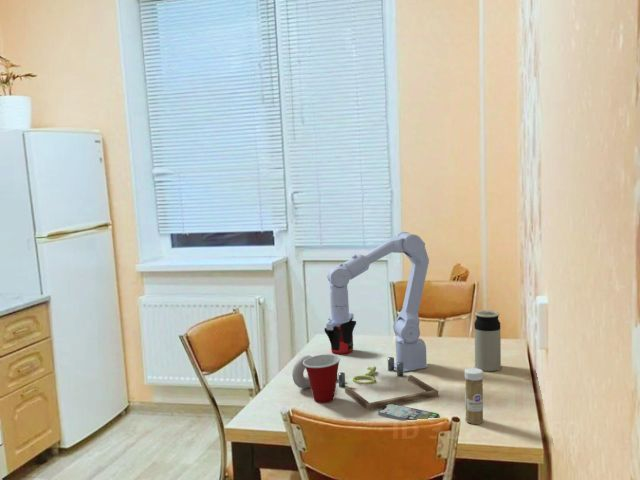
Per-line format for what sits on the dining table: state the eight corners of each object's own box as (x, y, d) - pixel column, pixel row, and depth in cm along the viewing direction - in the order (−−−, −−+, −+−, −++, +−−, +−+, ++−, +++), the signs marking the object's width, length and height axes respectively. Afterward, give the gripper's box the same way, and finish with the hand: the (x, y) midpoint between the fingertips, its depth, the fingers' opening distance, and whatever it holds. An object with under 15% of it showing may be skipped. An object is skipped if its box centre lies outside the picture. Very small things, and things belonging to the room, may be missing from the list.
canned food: (353, 354, 216) (352, 324, 215) (331, 355, 216) (329, 325, 215) (352, 348, 223) (351, 318, 222) (331, 349, 224) (329, 319, 222)
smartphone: (430, 424, 155) (376, 412, 162) (430, 428, 155) (376, 416, 162) (440, 413, 161) (388, 403, 169) (440, 417, 161) (388, 406, 169)
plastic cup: (305, 392, 181) (303, 353, 180) (341, 391, 181) (340, 352, 179) (303, 407, 170) (301, 365, 169) (342, 406, 170) (340, 364, 168)
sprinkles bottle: (472, 426, 153) (472, 374, 152) (461, 419, 157) (460, 369, 156) (487, 422, 155) (486, 371, 153) (476, 416, 159) (475, 366, 158)
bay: (411, 379, 188) (411, 375, 188) (438, 396, 174) (438, 391, 174) (345, 392, 180) (344, 387, 180) (367, 410, 166) (367, 405, 166)
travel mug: (491, 373, 190) (490, 317, 188) (470, 368, 196) (469, 313, 194) (505, 367, 195) (505, 312, 193) (484, 362, 201) (483, 309, 199)
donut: (298, 393, 180) (296, 361, 179) (290, 391, 183) (288, 358, 182) (322, 384, 187) (320, 352, 186) (314, 382, 190) (313, 350, 189)
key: (376, 372, 198) (376, 365, 198) (375, 385, 186) (375, 379, 185) (354, 372, 199) (354, 365, 198) (351, 386, 187) (351, 379, 186)
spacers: (392, 368, 199) (392, 356, 199) (404, 376, 192) (404, 363, 191) (330, 379, 191) (329, 367, 191) (340, 387, 184) (339, 375, 183)
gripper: (339, 299, 202) (341, 339, 203) (317, 309, 189) (319, 351, 191) (358, 300, 198) (360, 341, 200) (336, 310, 186) (339, 354, 188)
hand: (341, 346), depth 195 cm, fingers open, 7 cm apart
